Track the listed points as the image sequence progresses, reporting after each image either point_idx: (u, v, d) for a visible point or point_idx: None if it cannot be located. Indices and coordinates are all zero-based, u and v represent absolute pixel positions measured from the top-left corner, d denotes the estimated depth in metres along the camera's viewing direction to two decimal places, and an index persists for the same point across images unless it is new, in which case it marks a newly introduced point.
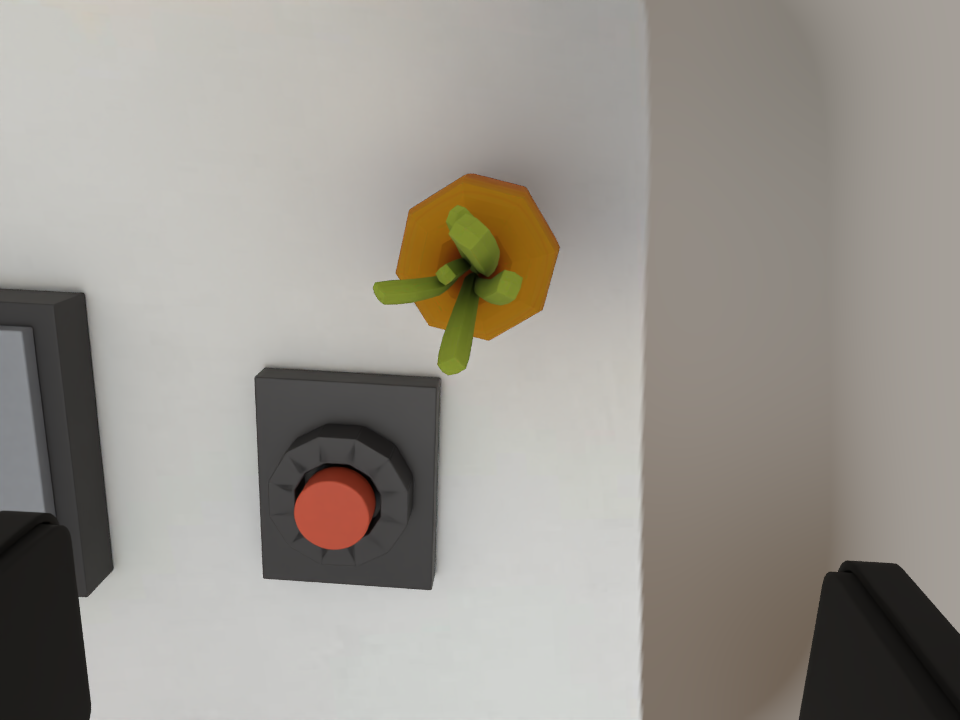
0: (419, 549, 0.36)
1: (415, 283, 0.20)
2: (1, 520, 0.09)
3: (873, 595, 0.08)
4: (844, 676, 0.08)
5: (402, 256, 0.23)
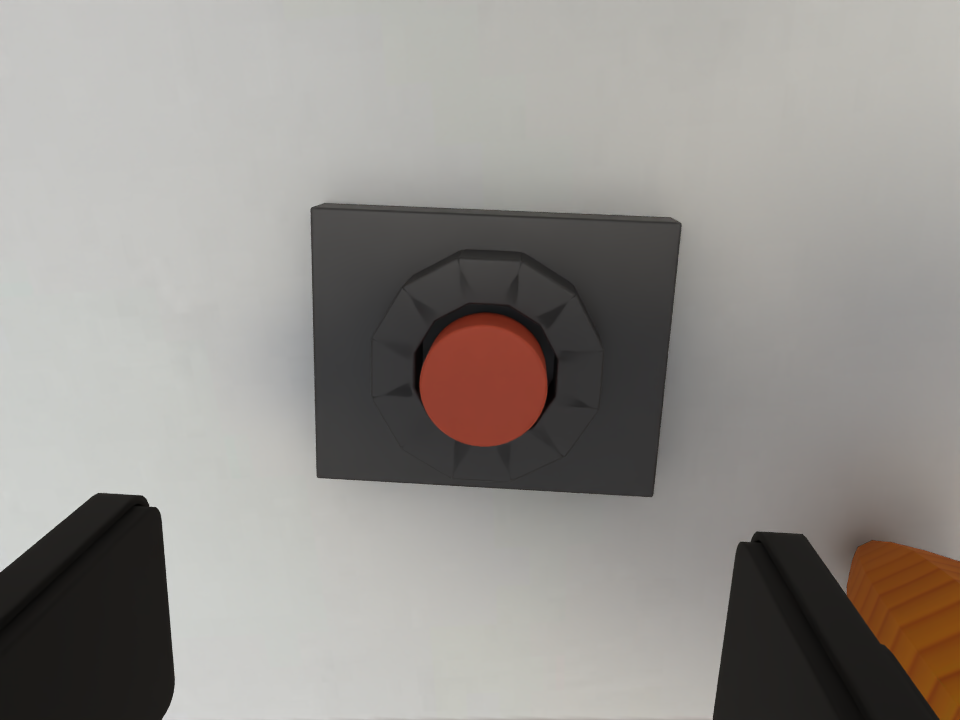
0: (387, 464, 0.23)
1: None
2: (100, 502, 0.10)
3: (774, 561, 0.09)
4: (749, 637, 0.09)
5: None
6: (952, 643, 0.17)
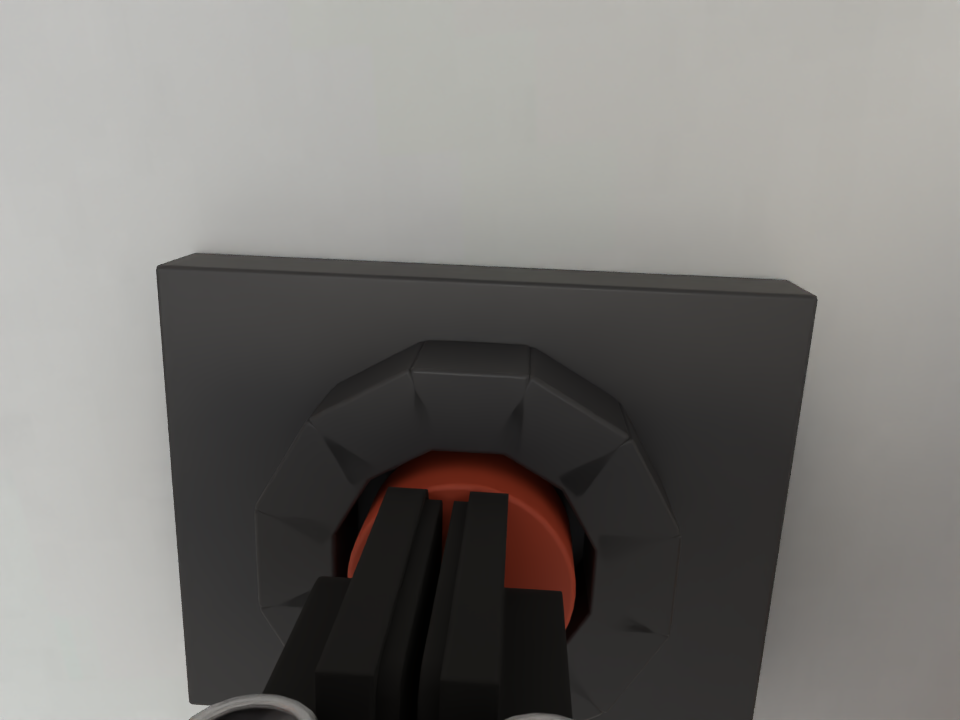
0: None
1: None
2: (397, 495, 0.10)
3: (466, 516, 0.10)
4: None
5: None
6: None
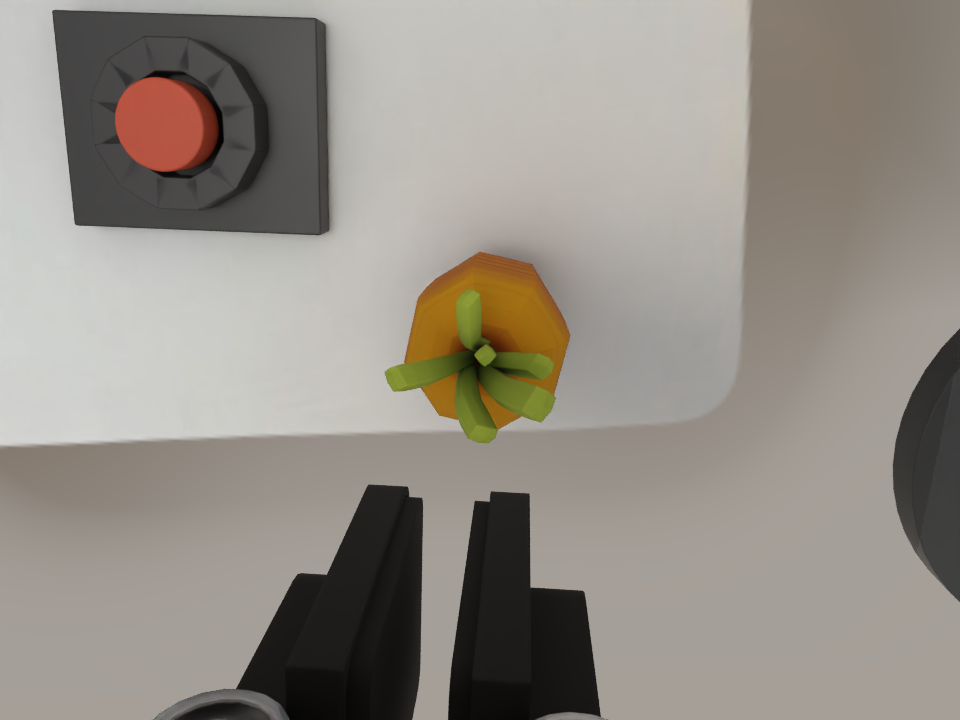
0: (125, 212, 0.31)
1: (477, 330, 0.20)
2: (377, 492, 0.10)
3: (488, 516, 0.10)
4: None
5: (492, 281, 0.22)
6: (448, 273, 0.25)
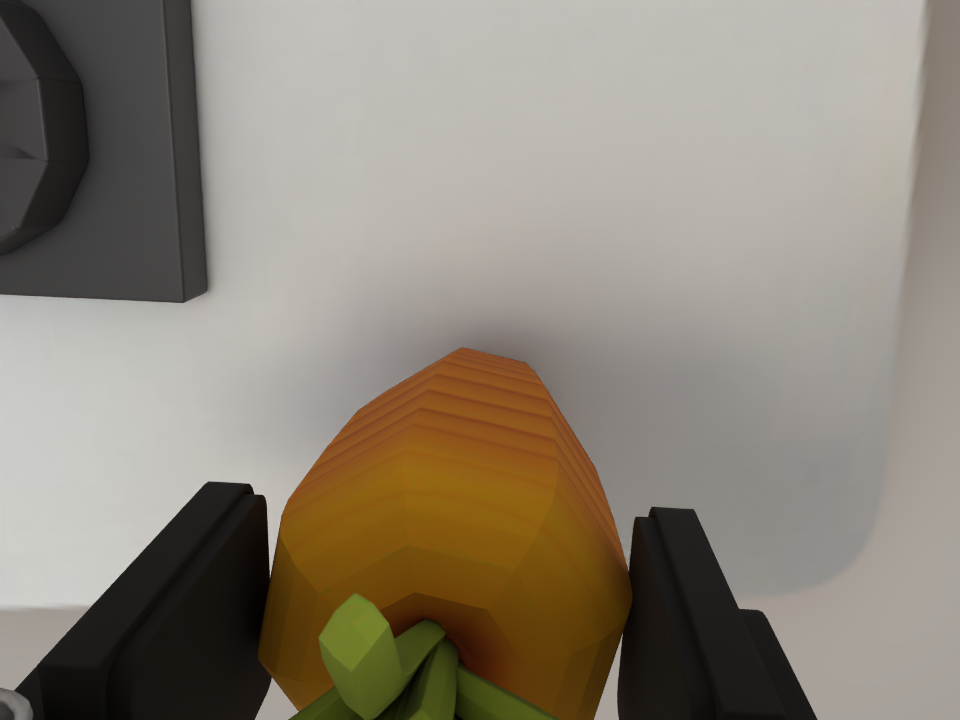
0: None
1: (390, 697, 0.07)
2: (213, 489, 0.10)
3: (660, 533, 0.09)
4: (638, 606, 0.10)
5: (450, 483, 0.09)
6: (374, 412, 0.13)
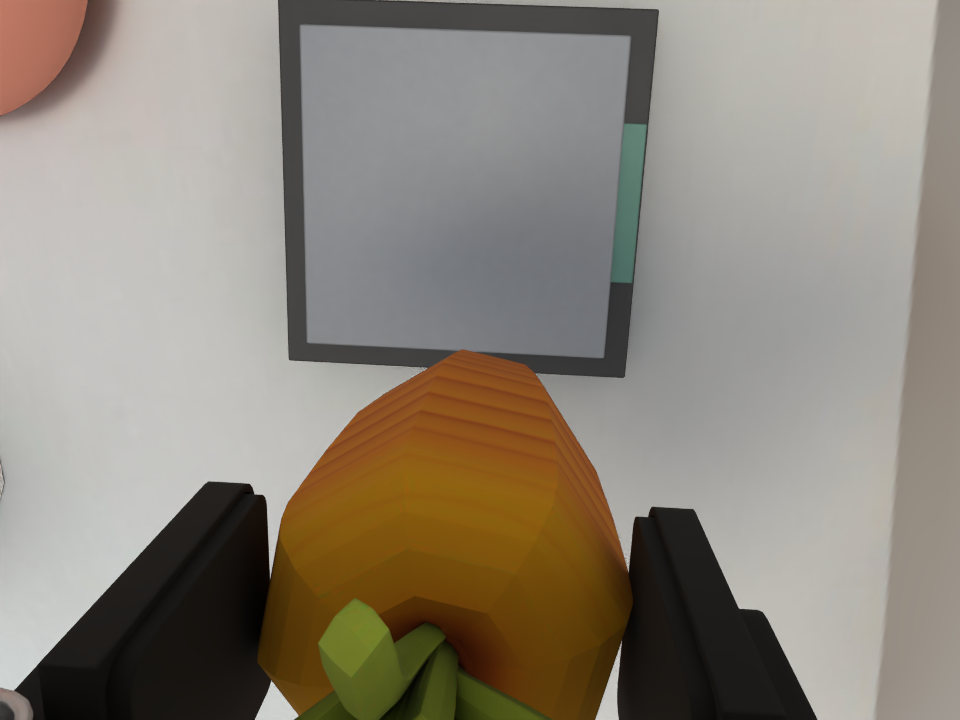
0: None
1: (390, 701, 0.07)
2: (213, 489, 0.10)
3: (660, 533, 0.09)
4: (638, 606, 0.10)
5: (450, 486, 0.09)
6: (374, 413, 0.13)
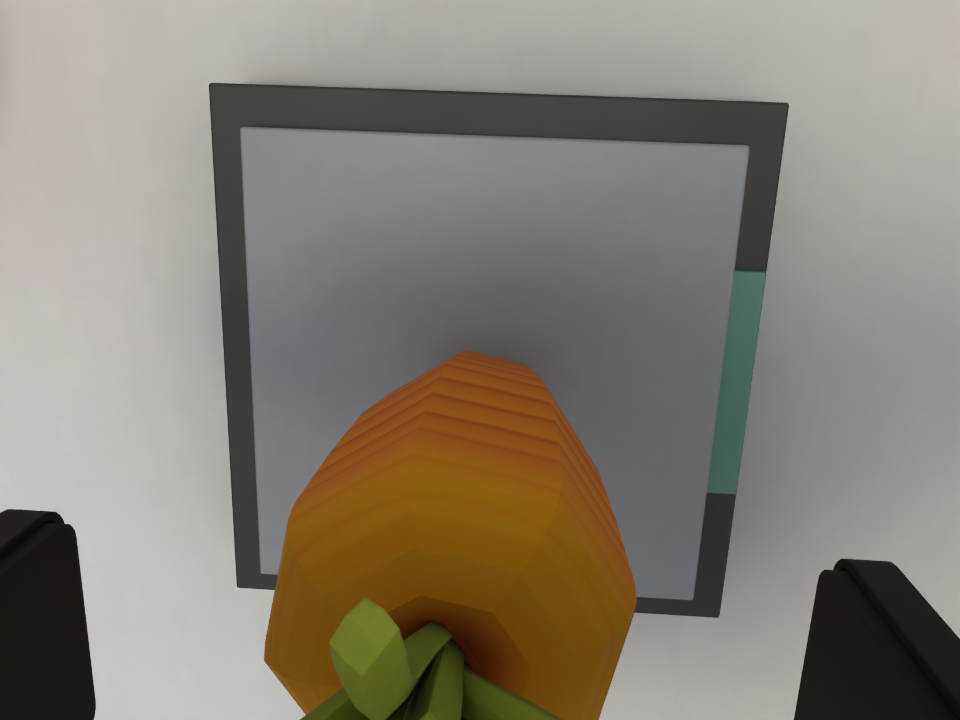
0: None
1: (400, 700, 0.07)
2: (7, 519, 0.09)
3: (868, 593, 0.08)
4: (839, 673, 0.08)
5: (456, 487, 0.09)
6: (379, 414, 0.13)
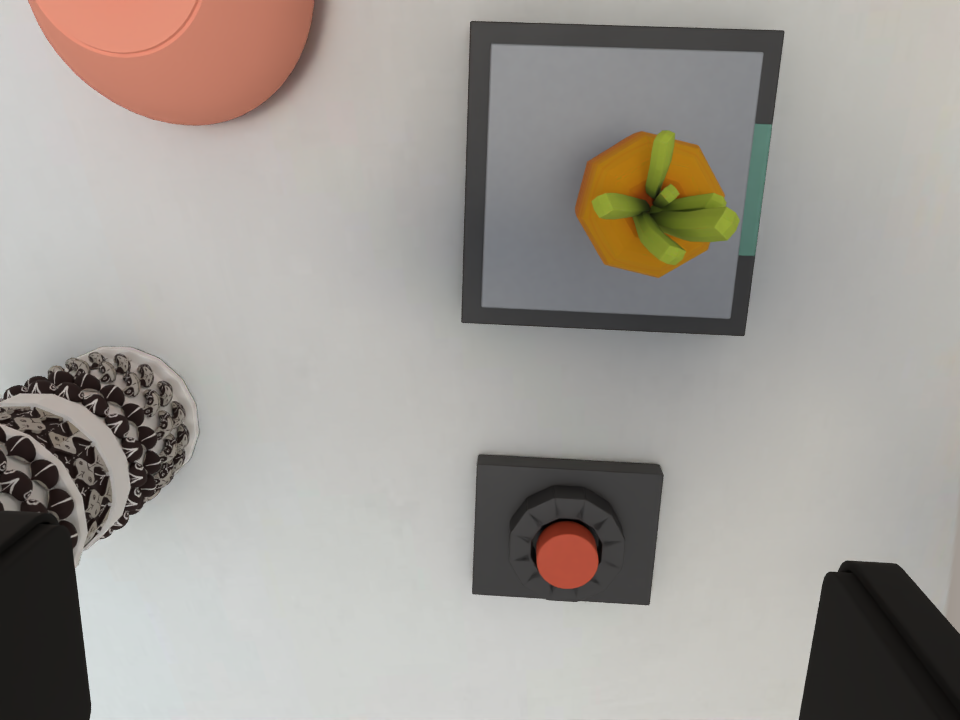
0: (510, 587, 0.44)
1: (667, 168, 0.23)
2: (1, 520, 0.09)
3: (873, 595, 0.08)
4: (844, 676, 0.08)
5: None
6: None
